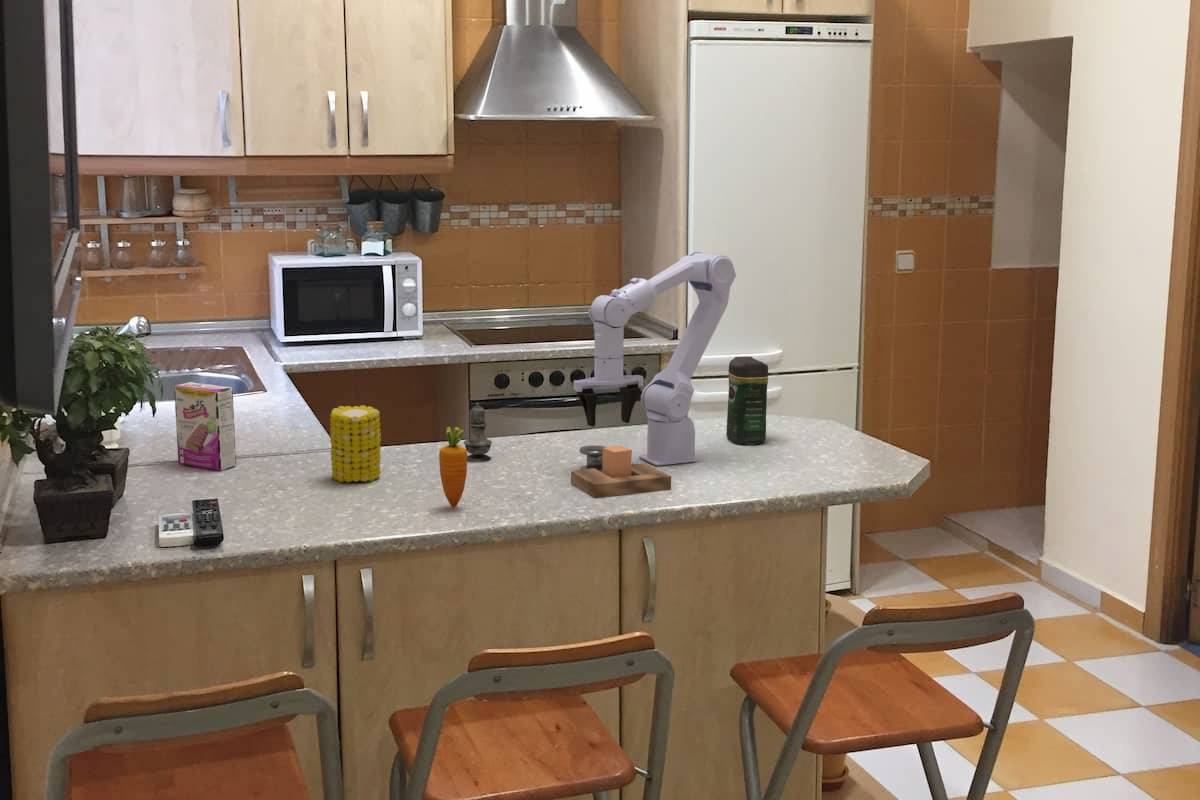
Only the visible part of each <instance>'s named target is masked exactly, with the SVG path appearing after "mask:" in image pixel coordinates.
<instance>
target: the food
mask: <svg viewBox="0 0 1200 800" xmlns="http://www.w3.org/2000/svg"><path fill="white" fill-rule="evenodd" d="M380 413H381V412H380V411H379V410H378V409H377V408H374V407H373V406H370V405H369V406H366V405H360V406H358V405H357V406H356V405H354V406H351V405H346V406H343V405H339V406H338V407H337V408H336V407H334V408H333V409H331V411H330V415H329V417H330V419H329V421H330V423H329V425H330V440H329V441H330V445H331V446H330V447H331V448H330V455H331V456H330V461H331V475H332V478H333V480H335V481H338V482H339V483H343V482H346V483H350V482H355V483H358V482H359V481H360V482H374V481H375V480H377V479H378V477H380V475H381V472H382V471H381V466H380V465H381V459H382V456H381V447H382V446H381V445H380V443H381V441H382V438H381V434H382V433H381V427H380V426H381V422H380V420H381V417H380Z"/></svg>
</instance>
